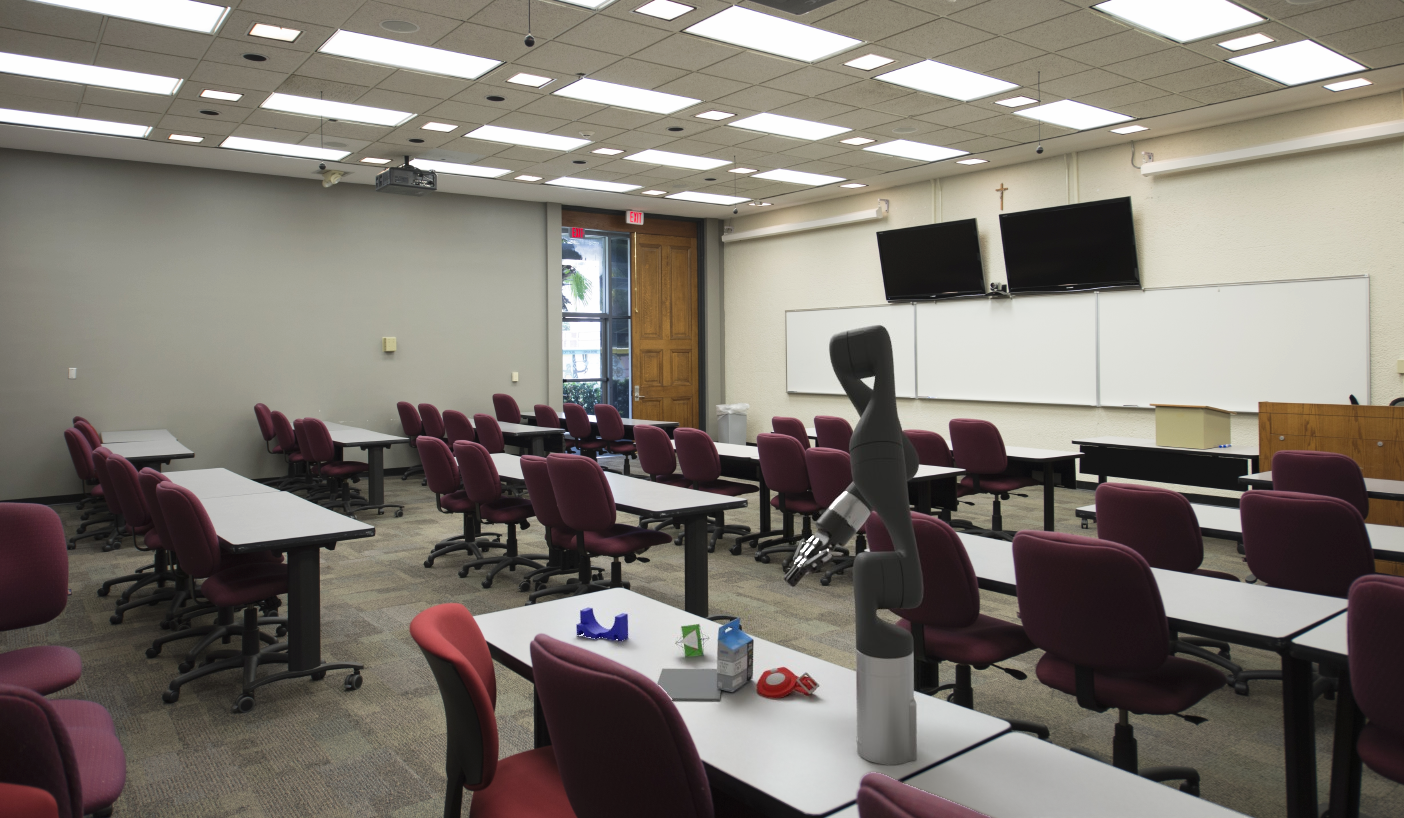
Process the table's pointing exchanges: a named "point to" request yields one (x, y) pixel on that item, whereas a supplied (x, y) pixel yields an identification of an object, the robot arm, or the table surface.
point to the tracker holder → (784, 683)
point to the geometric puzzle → (692, 640)
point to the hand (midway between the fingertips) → (788, 583)
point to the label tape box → (734, 657)
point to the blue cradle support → (595, 630)
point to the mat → (690, 684)
